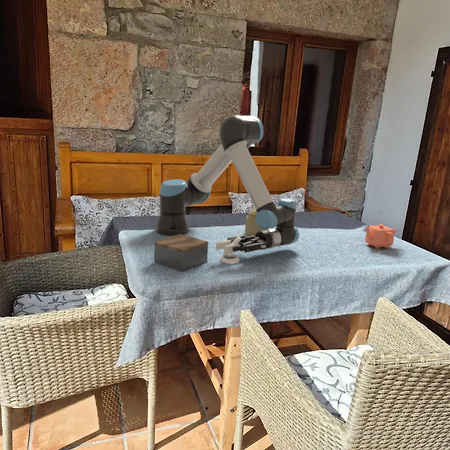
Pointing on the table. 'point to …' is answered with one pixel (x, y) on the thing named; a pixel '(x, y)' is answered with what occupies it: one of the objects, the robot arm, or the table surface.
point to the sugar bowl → (252, 224)
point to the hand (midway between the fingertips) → (220, 248)
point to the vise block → (180, 252)
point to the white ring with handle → (231, 254)
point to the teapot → (379, 236)
